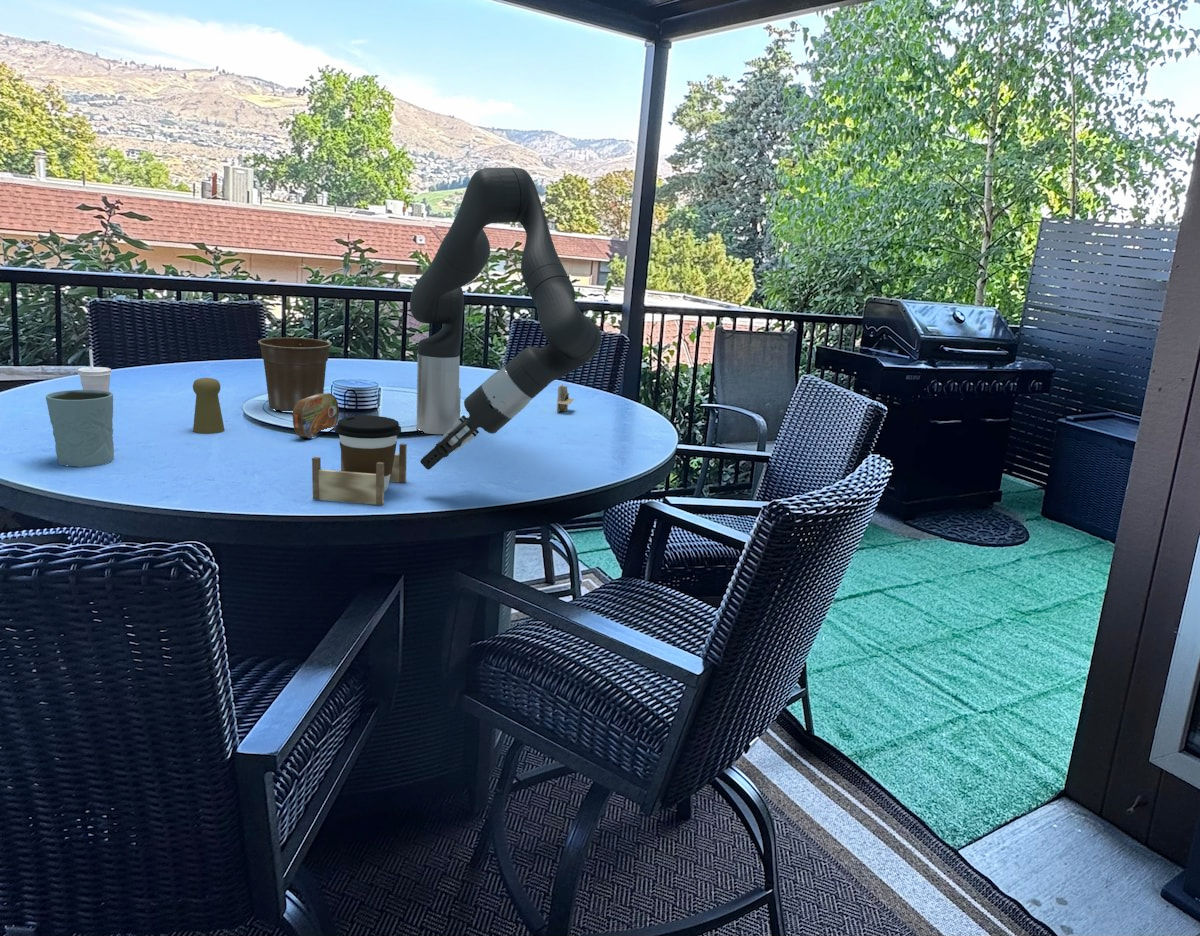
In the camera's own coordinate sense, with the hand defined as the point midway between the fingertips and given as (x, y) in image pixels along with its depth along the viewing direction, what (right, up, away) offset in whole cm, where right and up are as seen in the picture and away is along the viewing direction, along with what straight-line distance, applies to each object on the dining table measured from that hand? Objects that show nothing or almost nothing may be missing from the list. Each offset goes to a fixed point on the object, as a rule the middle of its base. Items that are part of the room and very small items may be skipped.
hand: (424, 464), depth 143 cm
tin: (-31, +6, +38) cm, 49 cm away
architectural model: (+20, +14, +79) cm, 83 cm away
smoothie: (-80, +11, +42) cm, 91 cm away
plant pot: (-43, +13, +60) cm, 75 cm away
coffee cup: (-10, -4, +2) cm, 11 cm away
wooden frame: (-11, -4, +2) cm, 12 cm away
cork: (-52, +7, +34) cm, 63 cm away
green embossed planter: (-62, +1, +7) cm, 62 cm away
